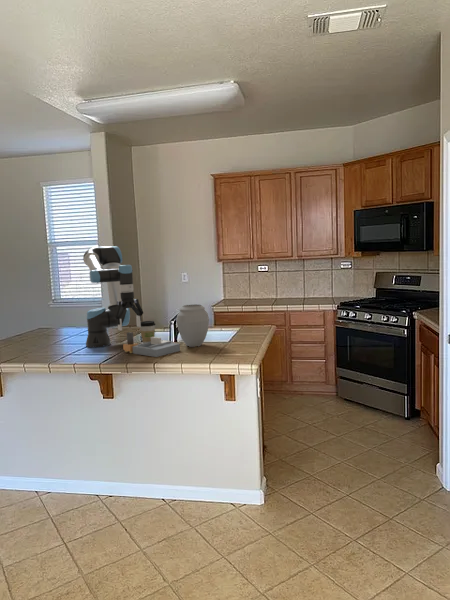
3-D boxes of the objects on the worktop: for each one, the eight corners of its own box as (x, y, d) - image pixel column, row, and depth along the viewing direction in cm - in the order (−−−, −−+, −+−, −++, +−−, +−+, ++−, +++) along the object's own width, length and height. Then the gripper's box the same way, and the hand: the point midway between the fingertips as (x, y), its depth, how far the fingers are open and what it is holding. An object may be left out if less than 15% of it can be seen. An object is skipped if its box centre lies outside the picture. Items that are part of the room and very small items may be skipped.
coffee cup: (153, 347, 276) (151, 323, 275) (138, 348, 278) (136, 323, 277) (159, 344, 286) (157, 320, 284) (144, 344, 288) (142, 320, 286)
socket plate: (132, 353, 264) (132, 344, 263) (156, 347, 278) (155, 339, 277) (156, 357, 251) (155, 348, 250) (179, 350, 265) (179, 342, 264)
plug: (123, 352, 267) (122, 333, 266) (131, 350, 272) (130, 331, 271) (130, 353, 264) (129, 334, 262) (138, 351, 268) (137, 332, 267)
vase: (172, 348, 271) (169, 307, 269) (186, 342, 289) (184, 303, 287) (202, 349, 264) (200, 307, 262) (215, 343, 282) (213, 303, 280)
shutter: (150, 343, 269) (150, 337, 268) (160, 341, 275) (160, 334, 274) (160, 344, 263) (159, 338, 263) (170, 342, 270) (169, 336, 269)
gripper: (113, 293, 252) (116, 332, 254) (148, 289, 271) (150, 325, 273) (104, 293, 257) (107, 331, 259) (139, 289, 276) (142, 325, 278)
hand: (129, 328), depth 266 cm, fingers open, 13 cm apart
